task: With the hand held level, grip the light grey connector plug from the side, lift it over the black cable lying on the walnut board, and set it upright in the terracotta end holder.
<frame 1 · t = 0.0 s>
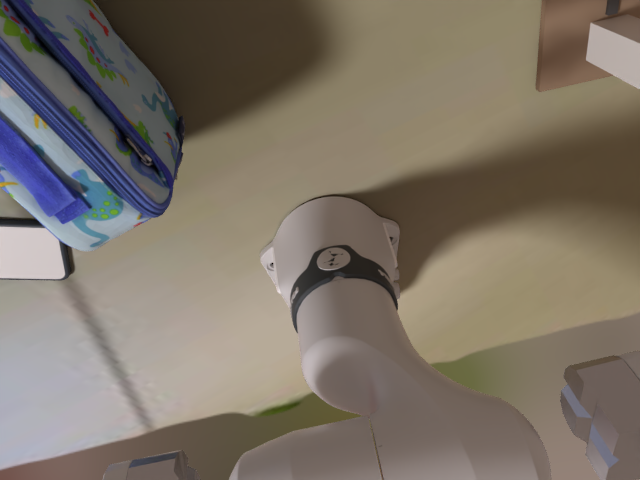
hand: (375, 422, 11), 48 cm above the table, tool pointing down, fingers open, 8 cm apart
connector plug: (606, 37, 55), point 1 cm above the table, touching route board
lunch box: (80, 47, 50), on the table
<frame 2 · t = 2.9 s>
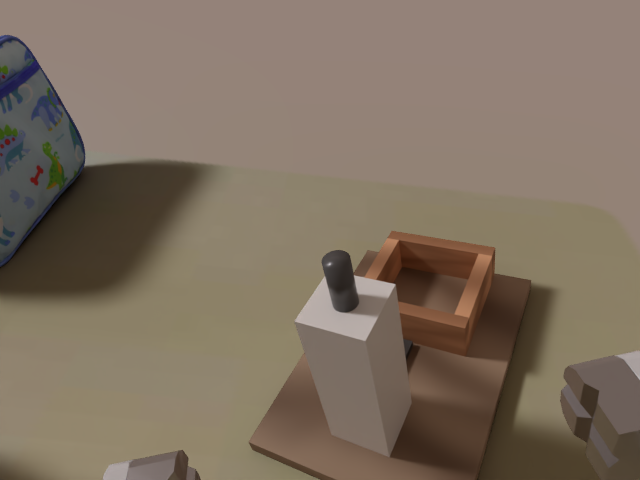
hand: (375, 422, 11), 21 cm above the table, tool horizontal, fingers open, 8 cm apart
connector plug: (372, 418, 33), point 1 cm above the table, touching route board
lunch box: (23, 220, 66), on the table
route board: (403, 362, 37), on the table
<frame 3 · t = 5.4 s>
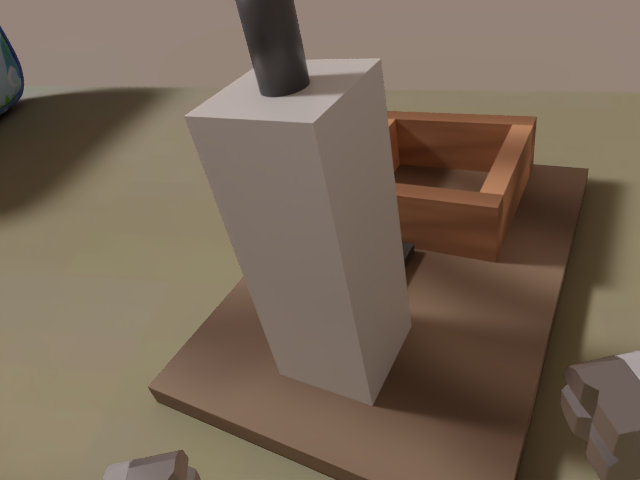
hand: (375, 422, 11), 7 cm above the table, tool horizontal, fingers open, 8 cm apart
connector plug: (346, 349, 20), point 1 cm above the table, touching route board
route board: (399, 279, 25), on the table
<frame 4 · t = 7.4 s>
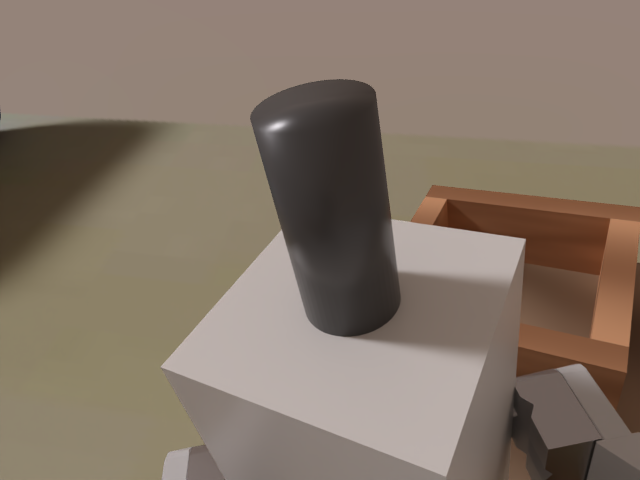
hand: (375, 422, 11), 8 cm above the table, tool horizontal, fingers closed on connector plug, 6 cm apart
route board: (466, 437, 18), on the table
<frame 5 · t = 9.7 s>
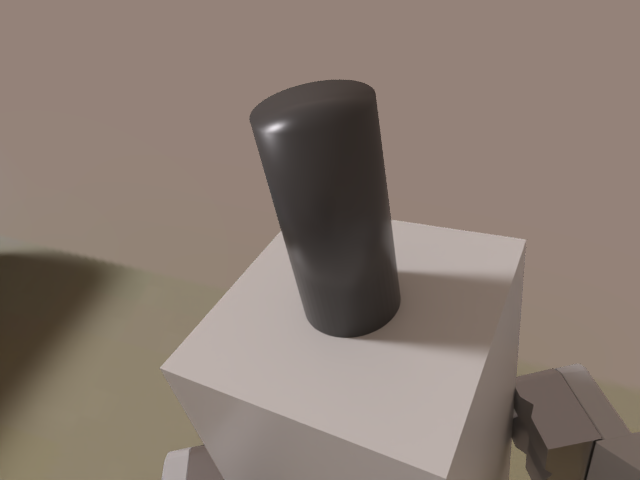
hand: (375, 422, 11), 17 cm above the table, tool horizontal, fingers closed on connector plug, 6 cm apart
when the fingers open (9 cm above the table, at t = 12.0 s): connector plug drops 1 cm, resting on route board.
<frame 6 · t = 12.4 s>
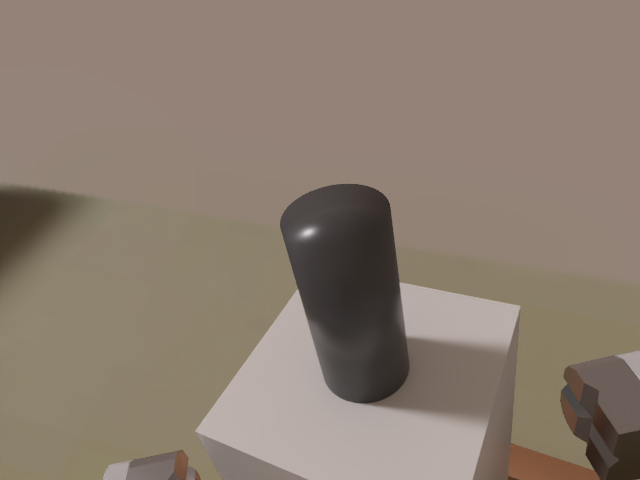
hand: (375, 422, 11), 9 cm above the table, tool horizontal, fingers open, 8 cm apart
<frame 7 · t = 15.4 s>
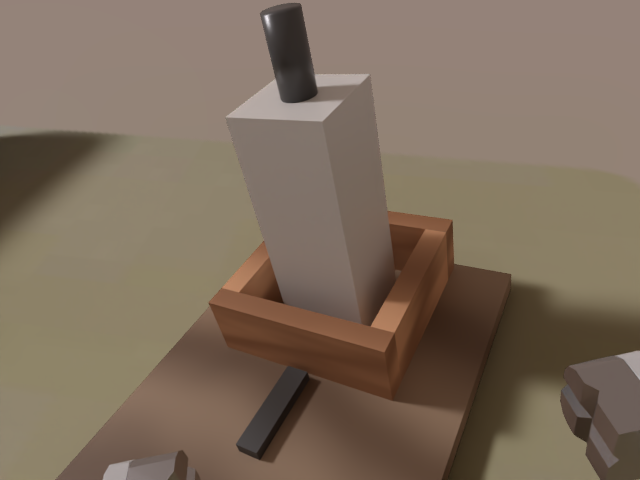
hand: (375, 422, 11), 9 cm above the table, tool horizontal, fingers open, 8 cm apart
connector plug: (344, 306, 25), point 1 cm above the table, touching route board
route board: (293, 407, 22), on the table
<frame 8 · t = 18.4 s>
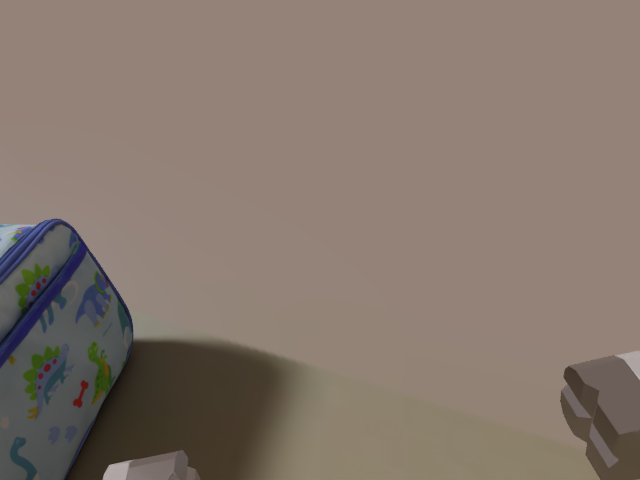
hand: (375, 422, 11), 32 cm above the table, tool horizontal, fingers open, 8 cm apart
lunch box: (59, 435, 52), on the table
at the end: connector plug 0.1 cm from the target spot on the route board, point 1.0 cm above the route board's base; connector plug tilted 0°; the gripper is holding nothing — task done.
